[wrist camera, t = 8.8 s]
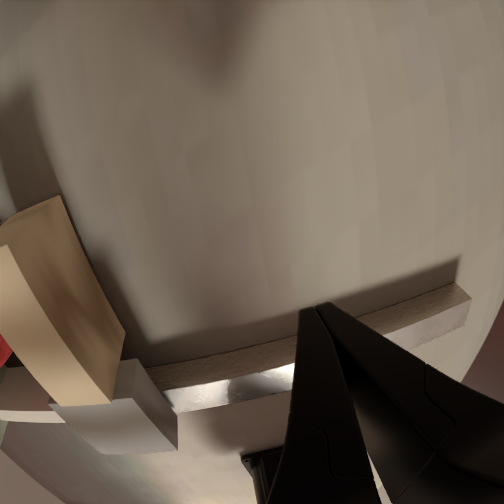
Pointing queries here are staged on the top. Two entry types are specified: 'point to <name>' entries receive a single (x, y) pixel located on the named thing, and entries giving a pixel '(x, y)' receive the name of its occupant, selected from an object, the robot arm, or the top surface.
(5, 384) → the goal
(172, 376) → the rail
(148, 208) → the top surface
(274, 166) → the top surface
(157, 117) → the top surface
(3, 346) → the red round solid
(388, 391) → the robot arm
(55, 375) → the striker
